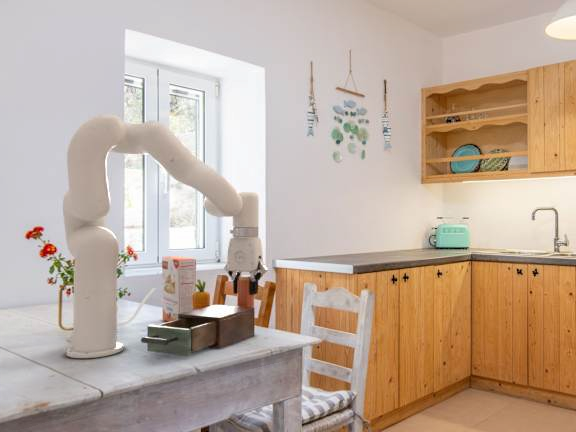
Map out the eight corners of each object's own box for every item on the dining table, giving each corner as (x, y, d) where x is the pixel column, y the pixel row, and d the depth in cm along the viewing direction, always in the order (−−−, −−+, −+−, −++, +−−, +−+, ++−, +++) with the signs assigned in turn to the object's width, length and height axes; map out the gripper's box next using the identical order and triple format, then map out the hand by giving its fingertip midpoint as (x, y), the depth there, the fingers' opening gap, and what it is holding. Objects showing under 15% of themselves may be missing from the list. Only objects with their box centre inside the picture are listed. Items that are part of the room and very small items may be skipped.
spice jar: (233, 313, 157) (233, 276, 157) (243, 310, 162) (243, 274, 162) (247, 314, 155) (247, 277, 155) (257, 311, 160) (257, 275, 160)
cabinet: (219, 348, 137) (219, 317, 136) (177, 344, 141) (177, 313, 141) (254, 335, 151) (254, 307, 151) (215, 331, 156) (215, 304, 156)
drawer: (173, 361, 122) (173, 334, 122) (132, 355, 126) (132, 329, 126) (225, 342, 140) (225, 318, 140) (188, 338, 144) (188, 315, 144)
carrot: (210, 330, 158) (210, 280, 158) (192, 331, 156) (192, 281, 156) (209, 326, 162) (209, 278, 162) (192, 328, 161) (192, 279, 160)
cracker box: (161, 320, 172) (161, 256, 171) (179, 317, 176) (179, 255, 175) (177, 327, 161) (177, 259, 161) (196, 324, 165) (196, 258, 165)
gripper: (214, 233, 158) (214, 293, 158) (262, 234, 152) (262, 297, 152) (229, 232, 165) (229, 290, 165) (276, 233, 159) (276, 293, 159)
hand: (245, 293), depth 158 cm, fingers closed on spice jar, 5 cm apart
